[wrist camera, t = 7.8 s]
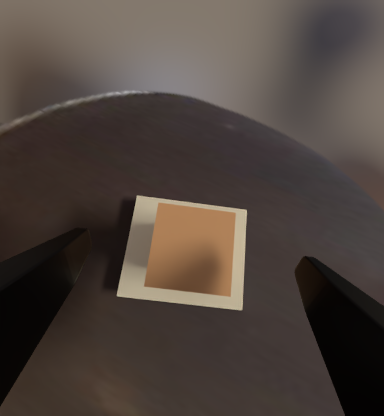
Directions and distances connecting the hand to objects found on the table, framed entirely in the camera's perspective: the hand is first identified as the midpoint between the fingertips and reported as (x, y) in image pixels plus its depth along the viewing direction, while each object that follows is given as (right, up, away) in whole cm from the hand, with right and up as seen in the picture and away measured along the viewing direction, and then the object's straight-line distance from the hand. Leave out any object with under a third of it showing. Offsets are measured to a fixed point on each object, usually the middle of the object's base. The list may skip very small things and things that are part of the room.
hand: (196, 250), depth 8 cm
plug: (-1, -3, +13) cm, 13 cm away
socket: (-1, -3, +13) cm, 13 cm away
